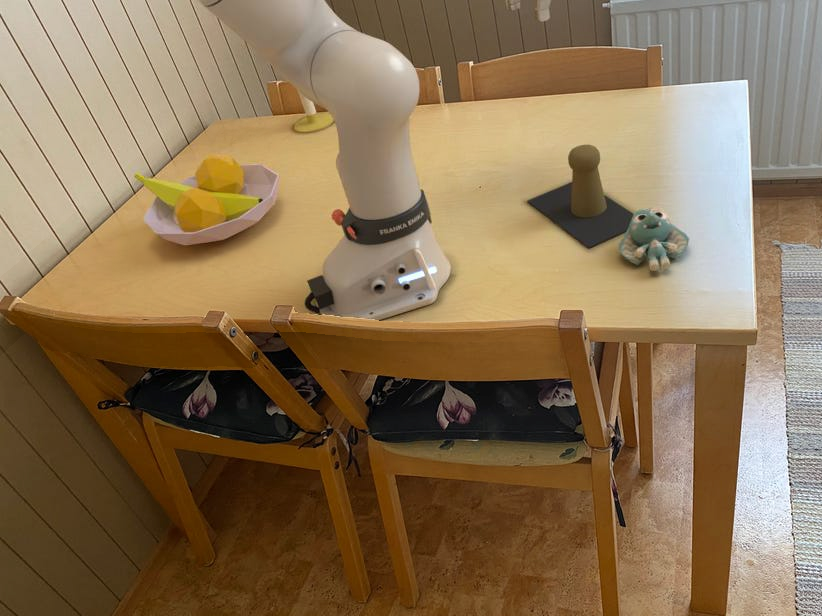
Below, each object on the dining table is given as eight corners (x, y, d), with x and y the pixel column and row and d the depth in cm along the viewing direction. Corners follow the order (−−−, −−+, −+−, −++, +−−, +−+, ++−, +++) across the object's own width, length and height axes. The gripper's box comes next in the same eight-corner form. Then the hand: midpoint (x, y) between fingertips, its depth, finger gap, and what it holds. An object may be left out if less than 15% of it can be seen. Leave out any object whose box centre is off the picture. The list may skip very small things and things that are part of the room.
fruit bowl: (315, 198, 150) (296, 145, 143) (213, 273, 135) (186, 218, 127) (225, 179, 164) (204, 131, 157) (124, 245, 149) (96, 195, 142)
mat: (589, 248, 119) (588, 247, 119) (527, 202, 134) (527, 200, 134) (646, 223, 122) (645, 221, 122) (579, 180, 136) (579, 178, 136)
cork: (605, 216, 125) (600, 156, 118) (569, 218, 127) (562, 158, 119) (607, 198, 129) (603, 138, 122) (573, 200, 131) (566, 141, 124)
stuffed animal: (622, 253, 107) (610, 198, 115) (624, 287, 113) (612, 233, 120) (699, 241, 106) (681, 187, 113) (696, 276, 112) (680, 222, 119)
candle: (294, 120, 184) (244, -22, 163) (334, 110, 184) (288, -33, 163) (294, 136, 176) (241, -11, 155) (335, 126, 176) (288, -22, 155)
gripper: (466, -84, 118) (481, 8, 127) (530, -70, 103) (542, 33, 112) (501, -95, 120) (514, -3, 129) (569, -82, 105) (578, 20, 114)
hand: (528, 14), depth 120 cm, fingers open, 8 cm apart
